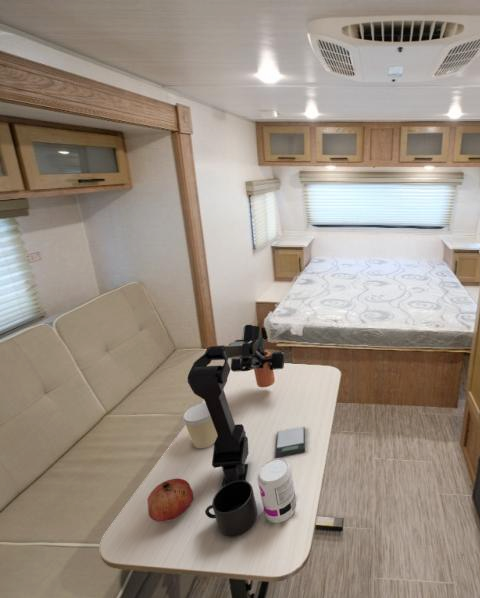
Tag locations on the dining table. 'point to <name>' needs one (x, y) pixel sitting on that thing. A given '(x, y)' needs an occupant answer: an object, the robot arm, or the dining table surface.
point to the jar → (264, 374)
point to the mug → (234, 508)
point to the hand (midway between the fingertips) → (264, 366)
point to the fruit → (169, 500)
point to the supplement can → (277, 490)
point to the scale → (290, 441)
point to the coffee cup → (200, 426)
